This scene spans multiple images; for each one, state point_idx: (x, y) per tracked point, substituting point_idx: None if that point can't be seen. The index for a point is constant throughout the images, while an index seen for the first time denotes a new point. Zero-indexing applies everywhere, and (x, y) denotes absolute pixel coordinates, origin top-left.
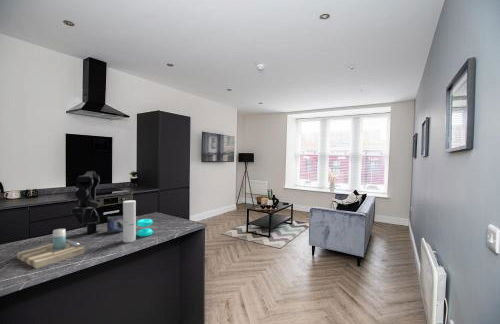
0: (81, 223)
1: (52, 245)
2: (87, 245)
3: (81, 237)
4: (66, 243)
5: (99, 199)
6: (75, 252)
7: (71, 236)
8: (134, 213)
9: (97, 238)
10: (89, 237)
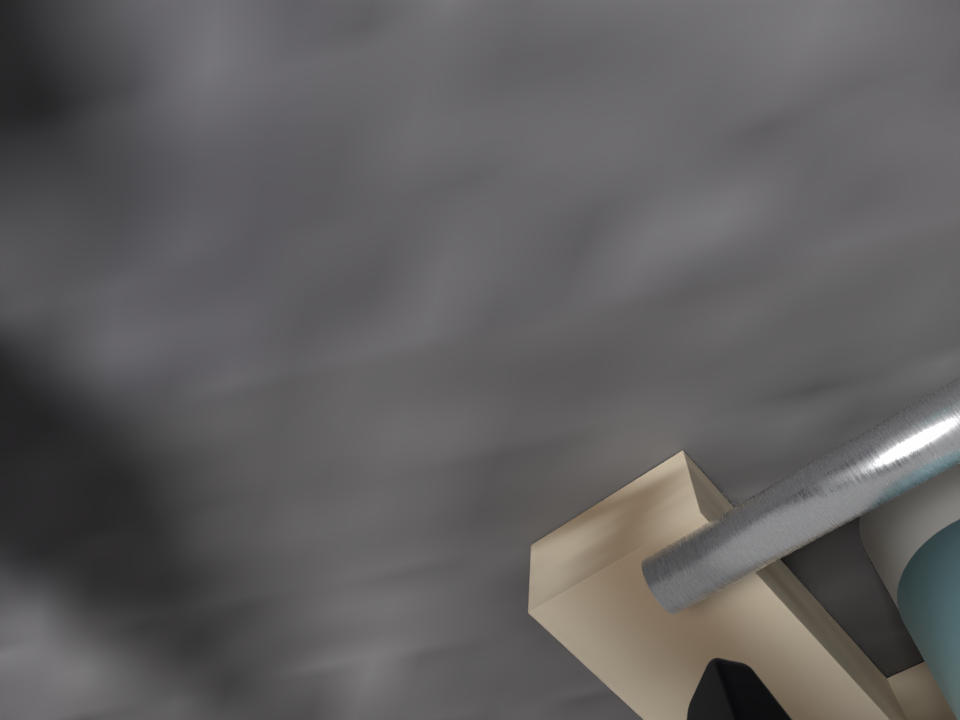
0: (743, 670)
1: None
2: (705, 149)
3: (122, 395)
4: None
5: None
6: None
7: (54, 554)
8: None
9: (229, 44)
10: (135, 248)
